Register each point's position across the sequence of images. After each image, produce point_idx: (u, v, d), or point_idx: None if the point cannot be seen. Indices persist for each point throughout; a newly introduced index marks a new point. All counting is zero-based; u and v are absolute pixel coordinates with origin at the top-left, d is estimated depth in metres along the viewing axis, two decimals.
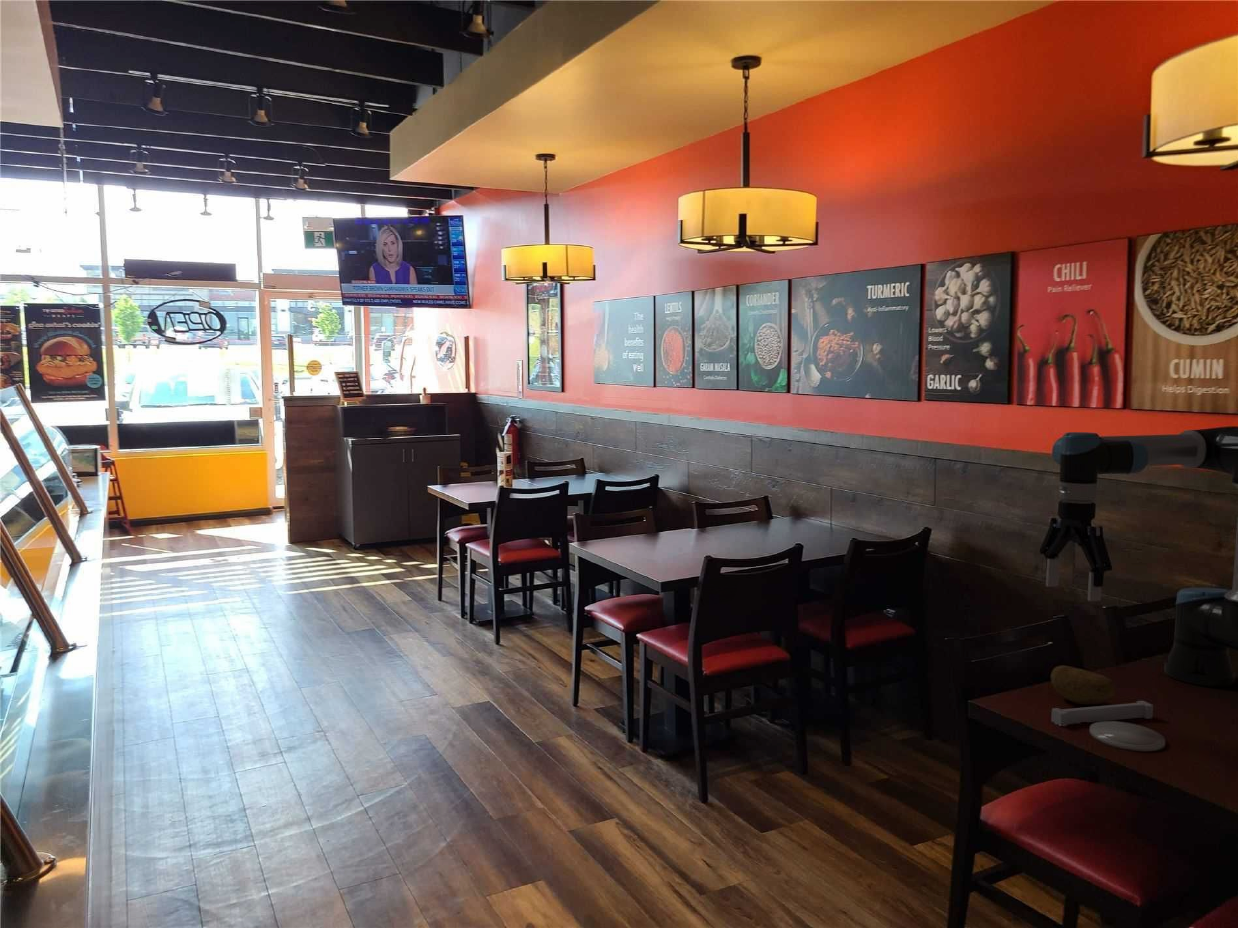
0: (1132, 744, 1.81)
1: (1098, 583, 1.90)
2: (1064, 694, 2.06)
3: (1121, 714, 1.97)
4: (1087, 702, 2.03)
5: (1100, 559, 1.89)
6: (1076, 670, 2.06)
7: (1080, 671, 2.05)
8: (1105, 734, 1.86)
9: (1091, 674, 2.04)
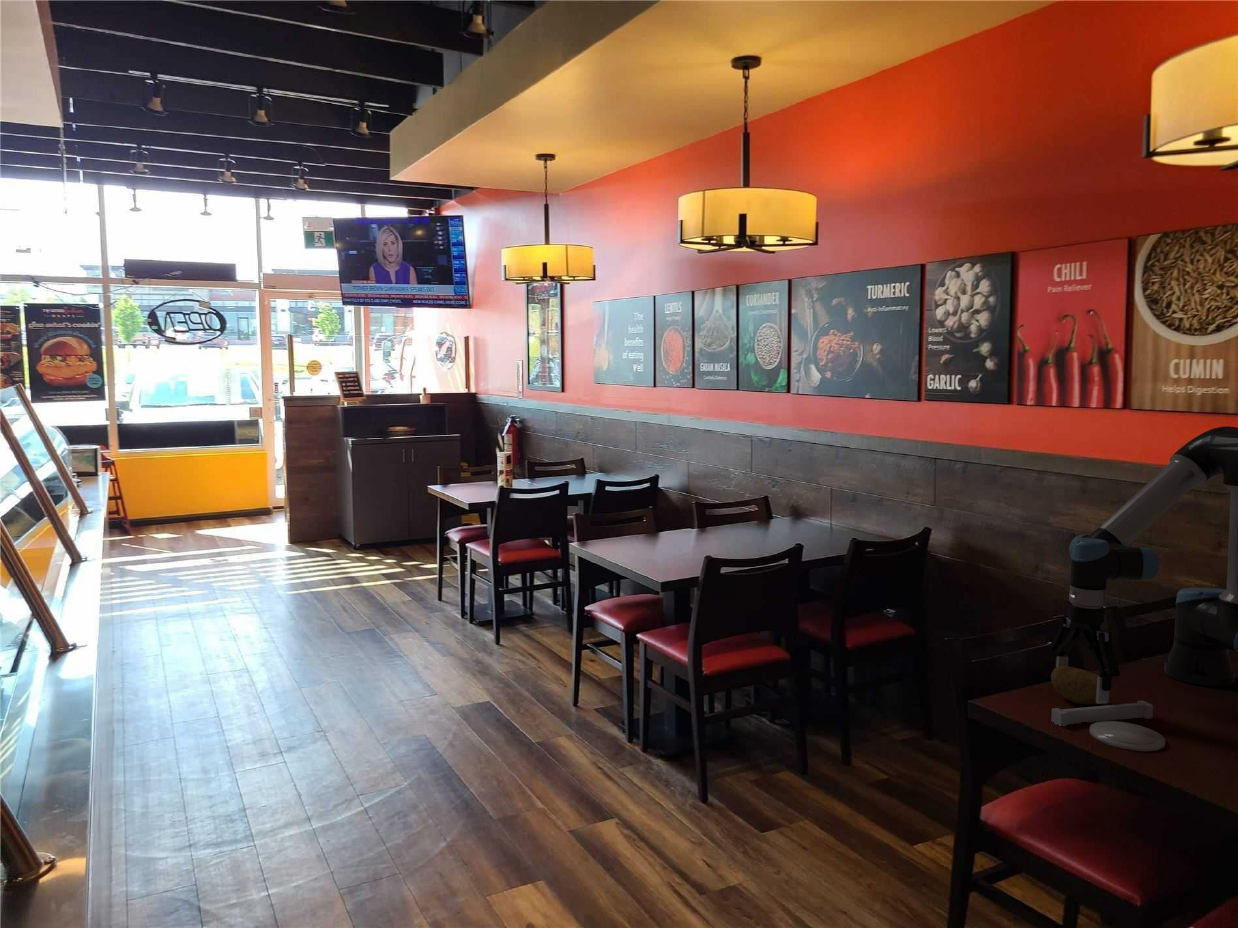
0: (1132, 744, 1.81)
1: (1106, 687, 1.98)
2: (1064, 694, 2.06)
3: (1121, 714, 1.97)
4: (1087, 702, 2.03)
5: (1108, 665, 1.96)
6: (1076, 670, 2.06)
7: (1080, 671, 2.05)
8: (1105, 734, 1.86)
9: (1091, 674, 2.04)
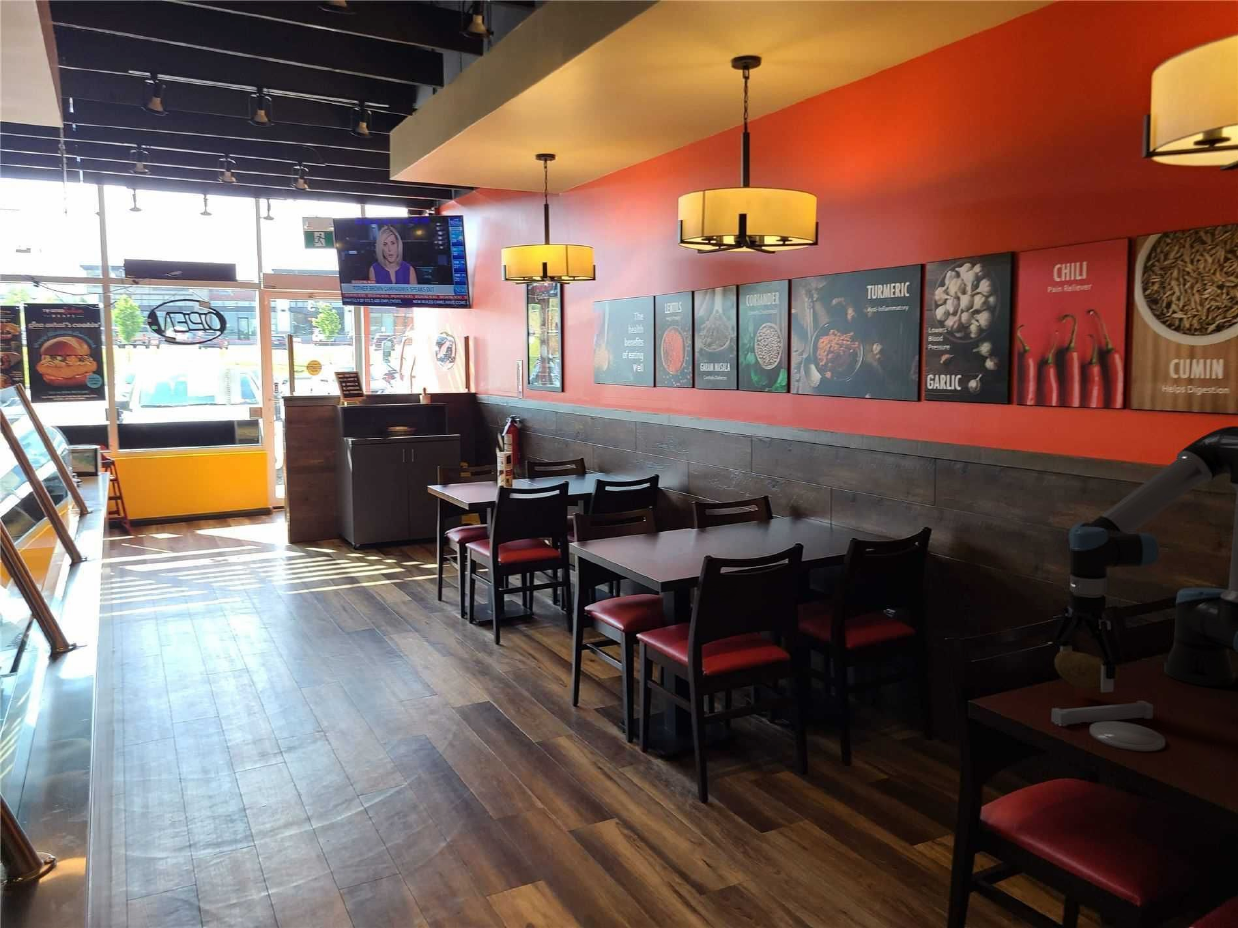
0: (1132, 744, 1.81)
1: (1110, 676, 1.98)
2: (1068, 679, 2.05)
3: (1121, 714, 1.97)
4: (1091, 686, 2.03)
5: (1111, 653, 1.96)
6: (1079, 654, 2.06)
7: (1084, 655, 2.05)
8: (1105, 734, 1.86)
9: (1095, 658, 2.04)
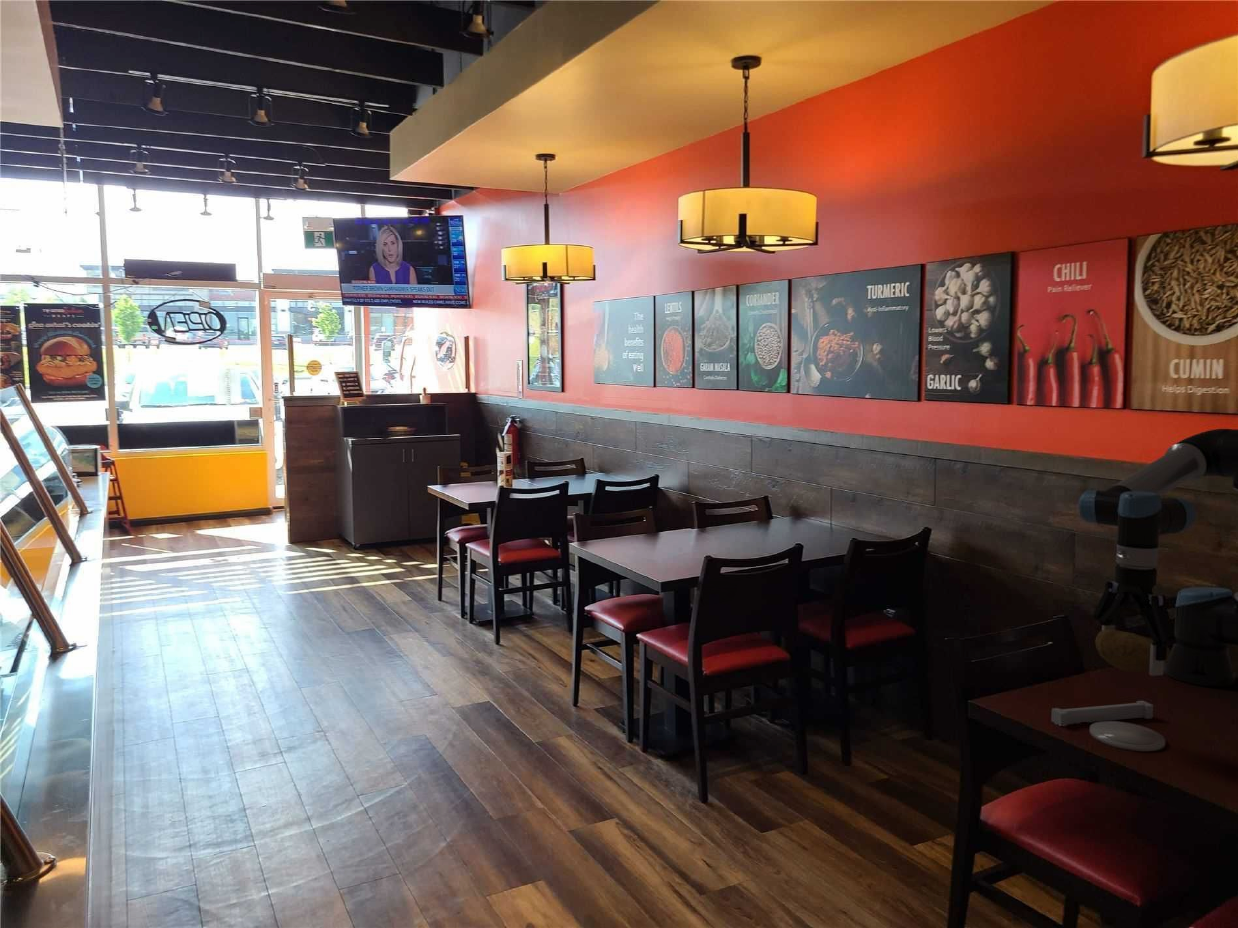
0: (1132, 744, 1.81)
1: (1161, 657, 1.77)
2: (1111, 660, 1.84)
3: (1121, 714, 1.97)
4: (1138, 668, 1.82)
5: (1164, 631, 1.75)
6: (1125, 634, 1.84)
7: (1129, 635, 1.84)
8: (1105, 734, 1.86)
9: (1142, 638, 1.82)
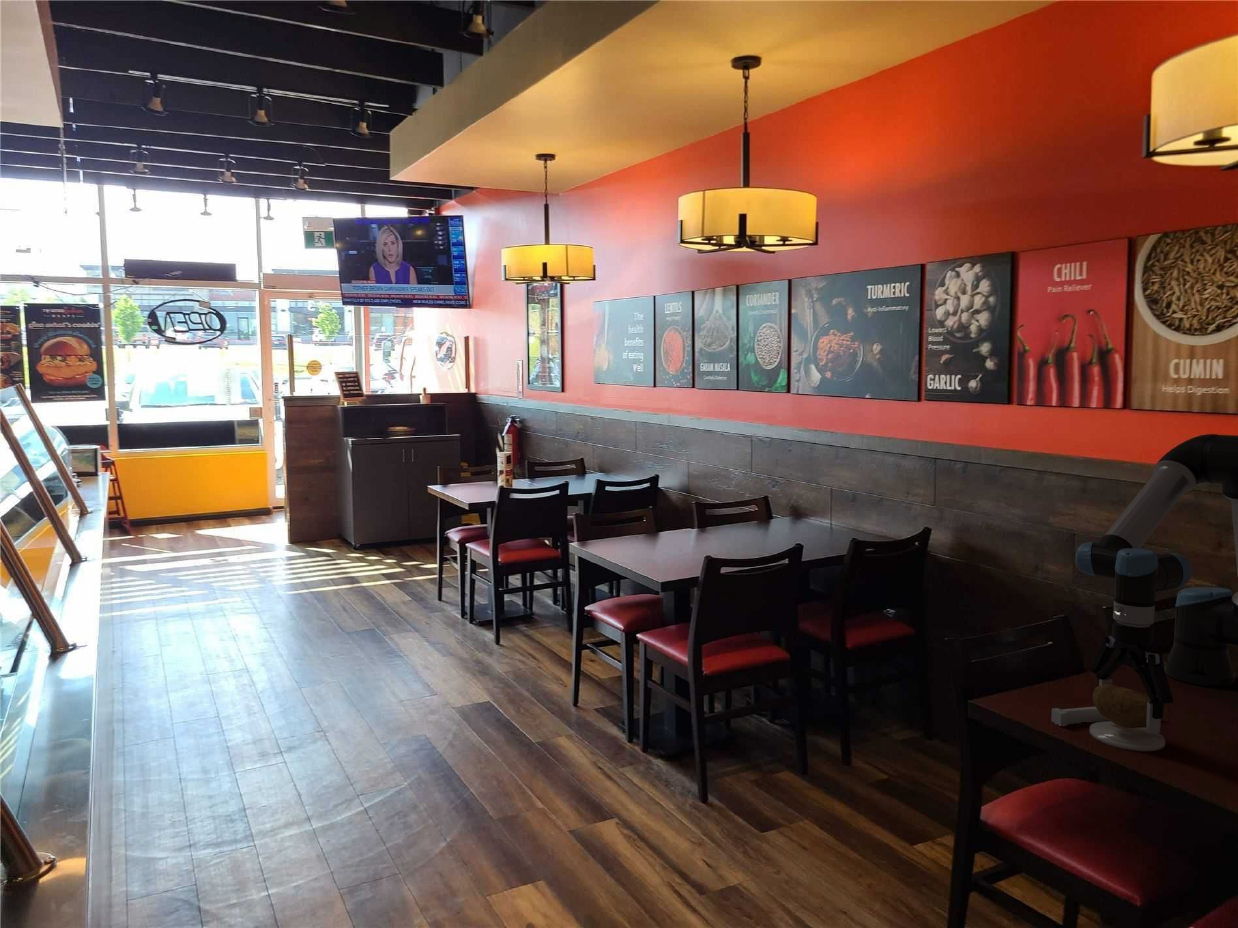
0: (1132, 744, 1.81)
1: (1158, 715, 1.78)
2: (1109, 716, 1.85)
3: None
4: (1135, 725, 1.83)
5: (1160, 691, 1.76)
6: (1122, 690, 1.86)
7: (1126, 691, 1.85)
8: (1105, 734, 1.86)
9: (1139, 694, 1.84)
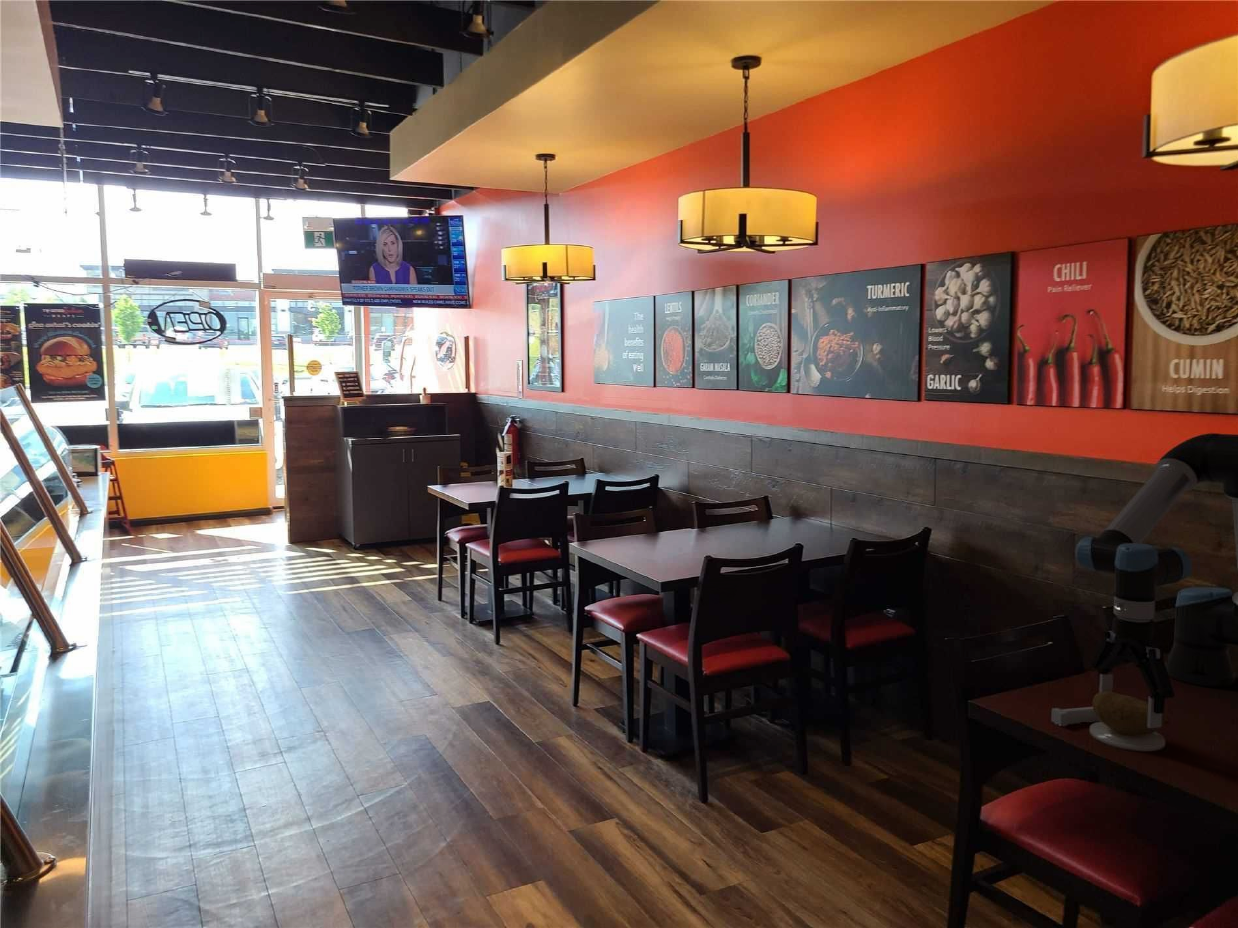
0: (1132, 744, 1.81)
1: (1159, 710, 1.78)
2: (1109, 723, 1.85)
3: None
4: (1135, 732, 1.83)
5: (1161, 685, 1.76)
6: (1121, 697, 1.86)
7: (1126, 698, 1.85)
8: (1105, 734, 1.86)
9: (1139, 701, 1.84)
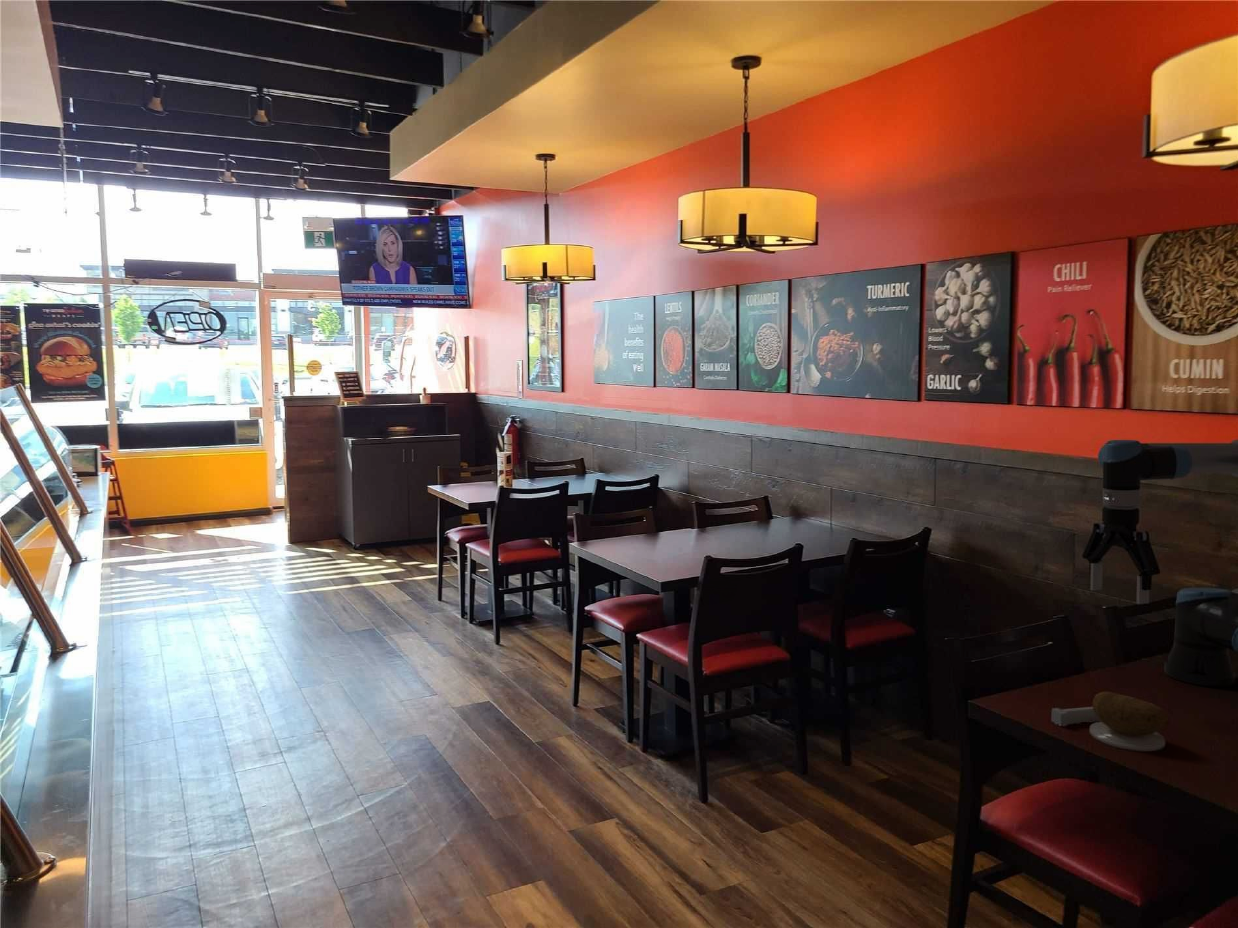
0: (1132, 744, 1.81)
1: (1147, 586, 1.96)
2: (1109, 724, 1.85)
3: None
4: (1135, 733, 1.83)
5: (1148, 563, 1.94)
6: (1122, 697, 1.86)
7: (1126, 698, 1.85)
8: (1105, 734, 1.86)
9: (1139, 702, 1.84)
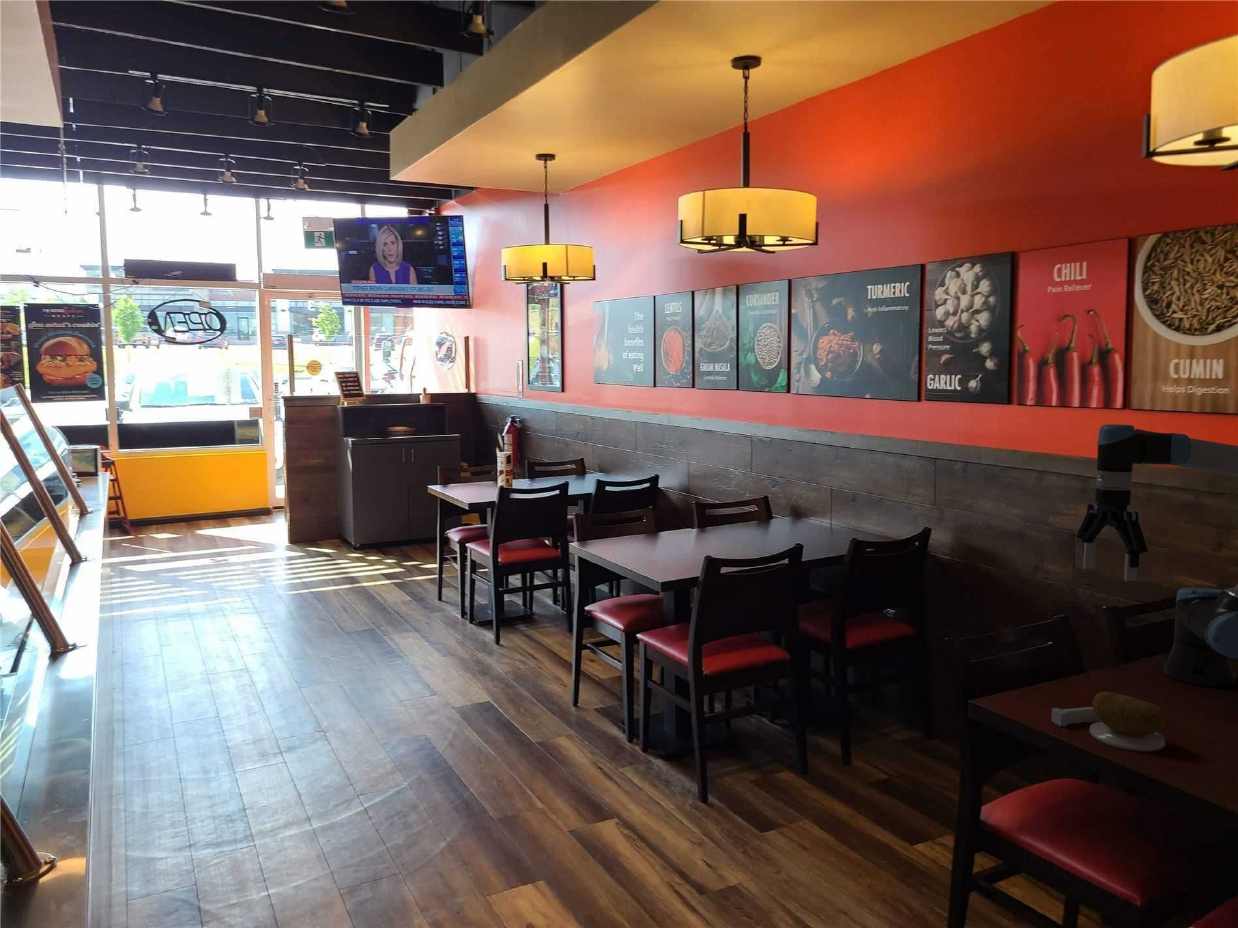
0: (1132, 744, 1.81)
1: (1134, 564, 2.05)
2: (1109, 724, 1.85)
3: None
4: (1135, 733, 1.83)
5: (1136, 542, 2.03)
6: (1122, 697, 1.86)
7: (1127, 698, 1.85)
8: (1105, 734, 1.86)
9: (1139, 702, 1.84)
